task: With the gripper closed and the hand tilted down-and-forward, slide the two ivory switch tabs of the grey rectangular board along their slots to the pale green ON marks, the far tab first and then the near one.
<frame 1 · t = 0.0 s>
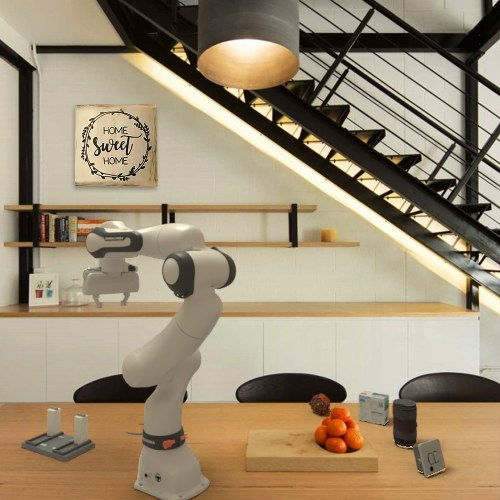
hand: (111, 306, 148), 48 cm above the table, tool pointing down, fingers open, 8 cm apart
light bulb box: (373, 421, 170), on the table
electrical switch: (428, 471, 130), on the table
tab near: (81, 428, 145), point 7 cm above the table, slide at 0.0 cm
pliers: (154, 431, 160), on the table
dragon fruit: (320, 412, 179), on the table
tab far: (53, 420, 152), point 7 cm above the table, slide at 0.0 cm
grey rectangular board: (58, 447, 145), on the table
camera lens: (404, 445, 149), on the table
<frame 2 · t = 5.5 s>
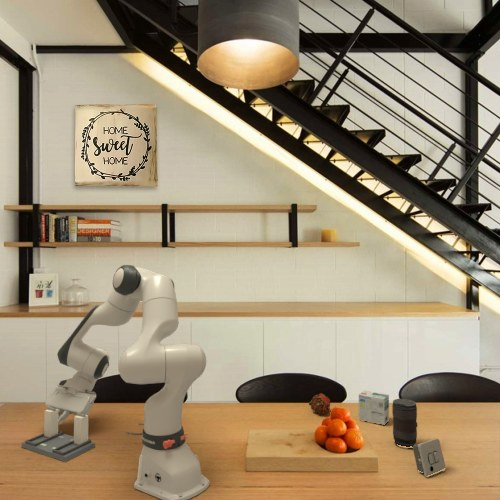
hand: (56, 423, 153), 5 cm above the table, tool tilted 45°, fingers closed, pressing on tab far
tab far: (51, 421, 151), point 7 cm above the table, slide at 1.0 cm, touching gripper
everything else where it was.
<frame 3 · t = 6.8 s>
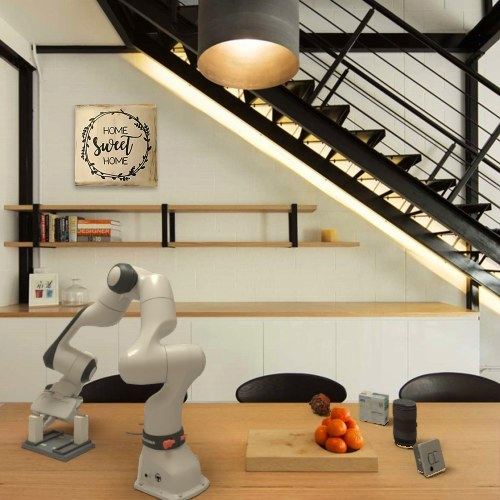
hand: (41, 429, 147), 5 cm above the table, tool tilted 45°, fingers closed, pressing on tab far
tab far: (35, 427, 145), point 7 cm above the table, slide at 7.1 cm, touching gripper
everything else where it was.
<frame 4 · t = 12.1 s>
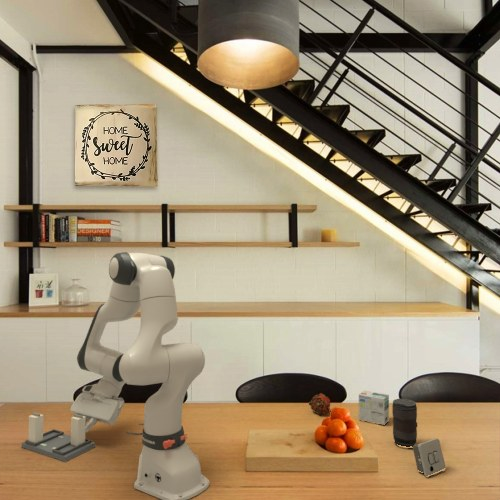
hand: (82, 430, 146), 5 cm above the table, tool tilted 45°, fingers closed, pressing on tab near
tab near: (78, 429, 144), point 7 cm above the table, slide at 1.2 cm, touching gripper
tab far: (35, 427, 145), point 7 cm above the table, slide at 7.0 cm
everything else where it was.
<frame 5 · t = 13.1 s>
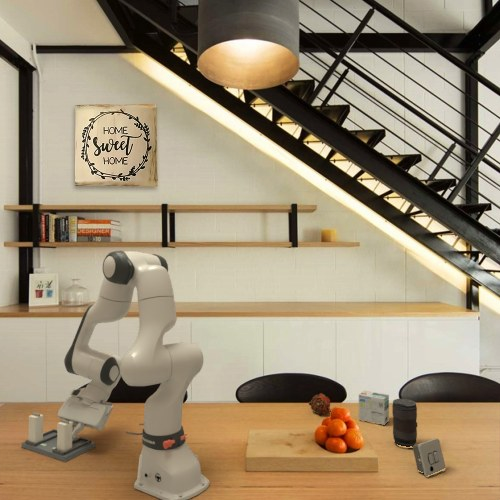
hand: (69, 436, 141), 5 cm above the table, tool tilted 45°, fingers closed, pressing on tab near
tab near: (64, 435, 139), point 7 cm above the table, slide at 6.6 cm, touching gripper
everything else where it was.
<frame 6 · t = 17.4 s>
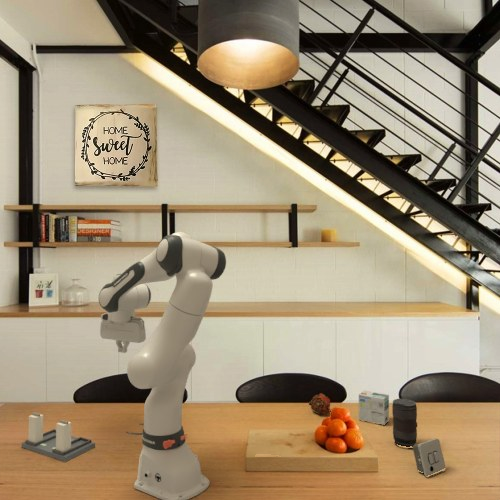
hand: (122, 352, 161), 29 cm above the table, tool pointing down, fingers closed
tab near: (63, 435, 139), point 7 cm above the table, slide at 7.0 cm
everything else where it was.
at the end: tab far slide at 7.0 cm; tab near slide at 7.0 cm; tab near touching nothing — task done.
